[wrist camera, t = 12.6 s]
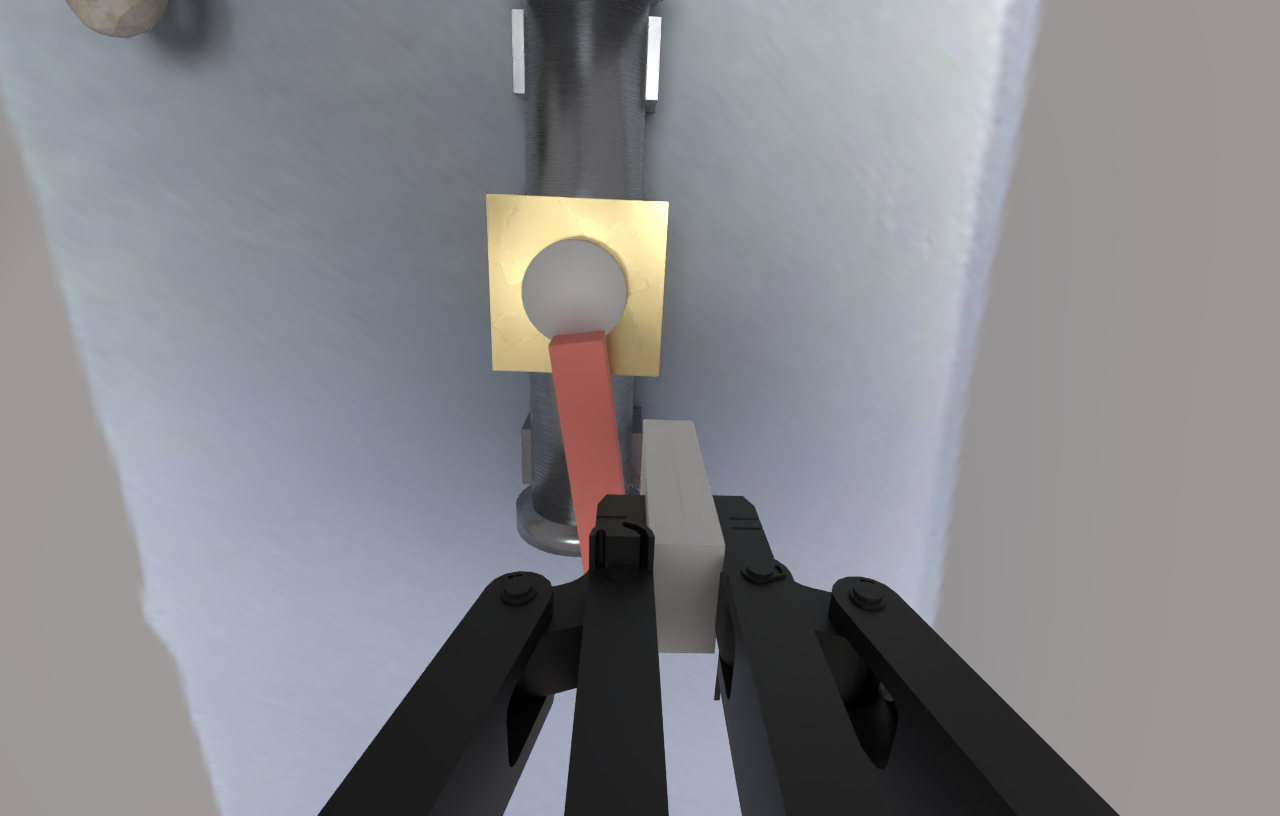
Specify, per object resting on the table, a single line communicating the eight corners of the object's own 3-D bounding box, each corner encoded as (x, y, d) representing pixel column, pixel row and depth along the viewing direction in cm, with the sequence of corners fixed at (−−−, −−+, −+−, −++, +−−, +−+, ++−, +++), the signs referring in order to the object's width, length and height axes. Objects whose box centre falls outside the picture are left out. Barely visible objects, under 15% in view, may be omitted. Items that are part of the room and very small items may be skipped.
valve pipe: (516, -20, 27) (474, -97, 20) (671, -11, 27) (684, -85, 20) (526, 484, 35) (500, 556, 28) (645, 488, 35) (648, 561, 28)
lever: (517, 244, 23) (500, 252, 20) (620, 233, 23) (618, 239, 20) (576, 597, 29) (569, 646, 26) (660, 589, 29) (663, 637, 25)
